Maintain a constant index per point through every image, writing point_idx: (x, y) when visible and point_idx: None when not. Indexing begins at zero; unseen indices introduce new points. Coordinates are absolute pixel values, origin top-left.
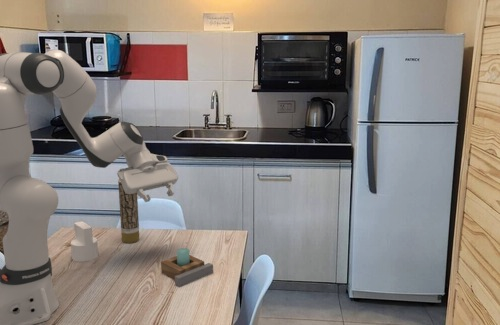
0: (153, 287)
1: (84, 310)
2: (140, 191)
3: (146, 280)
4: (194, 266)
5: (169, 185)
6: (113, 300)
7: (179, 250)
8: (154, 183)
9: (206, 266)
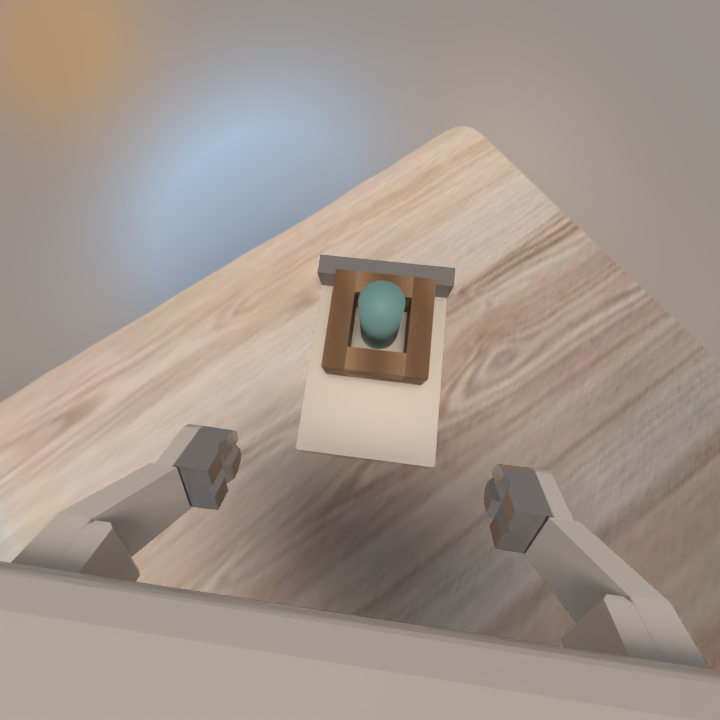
0: (481, 351)
1: (689, 395)
2: (660, 599)
3: (467, 401)
4: (376, 275)
5: (107, 533)
6: (604, 379)
7: (389, 313)
8: (368, 628)
9: (343, 260)
